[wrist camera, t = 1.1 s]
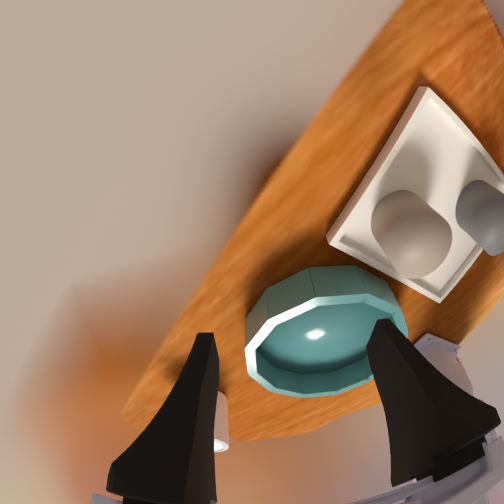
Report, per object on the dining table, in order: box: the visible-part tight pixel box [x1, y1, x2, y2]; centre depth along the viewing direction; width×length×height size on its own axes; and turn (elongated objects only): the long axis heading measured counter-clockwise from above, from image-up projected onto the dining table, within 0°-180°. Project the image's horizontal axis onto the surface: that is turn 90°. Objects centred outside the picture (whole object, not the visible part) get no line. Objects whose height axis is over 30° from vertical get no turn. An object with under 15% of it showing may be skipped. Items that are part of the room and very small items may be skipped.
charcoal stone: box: [455, 180, 504, 256], centre depth 16 cm, size 5×5×4 cm
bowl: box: [245, 265, 409, 398], centre depth 23 cm, size 14×14×4 cm
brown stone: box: [371, 190, 452, 279], centre depth 17 cm, size 5×5×4 cm
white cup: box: [214, 391, 229, 452], centre depth 30 cm, size 7×7×7 cm
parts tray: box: [325, 86, 504, 304], centre depth 18 cm, size 14×13×1 cm
